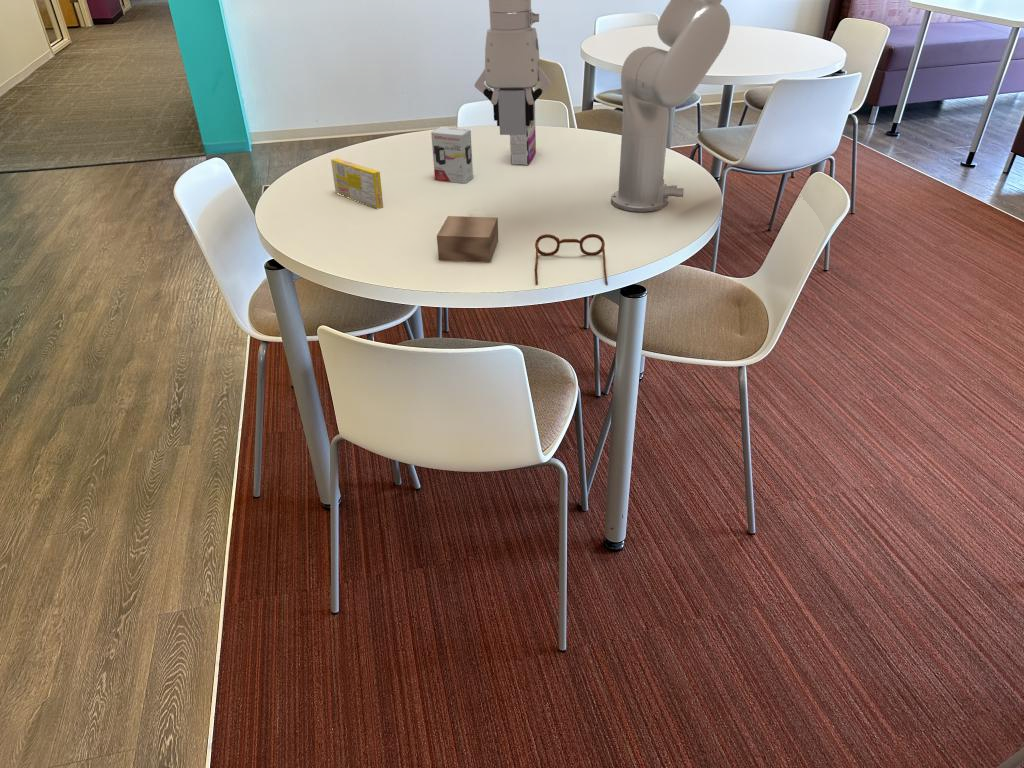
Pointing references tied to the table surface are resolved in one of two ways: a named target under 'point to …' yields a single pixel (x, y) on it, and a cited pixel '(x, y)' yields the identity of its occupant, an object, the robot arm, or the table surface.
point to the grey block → (512, 111)
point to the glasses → (570, 242)
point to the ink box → (452, 154)
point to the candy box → (357, 182)
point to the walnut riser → (468, 239)
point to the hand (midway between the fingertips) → (514, 123)
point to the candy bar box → (523, 145)
